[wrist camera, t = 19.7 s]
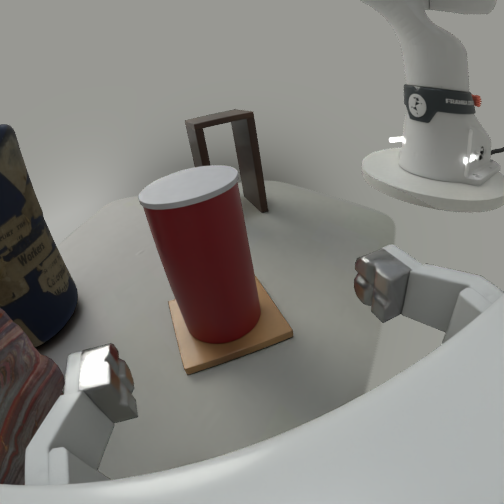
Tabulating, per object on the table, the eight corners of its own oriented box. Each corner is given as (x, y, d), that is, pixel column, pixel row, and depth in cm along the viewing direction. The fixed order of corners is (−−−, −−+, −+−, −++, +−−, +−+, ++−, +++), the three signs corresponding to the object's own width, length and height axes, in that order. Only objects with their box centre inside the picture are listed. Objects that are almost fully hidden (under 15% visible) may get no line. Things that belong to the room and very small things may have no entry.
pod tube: (246, 281, 23) (221, 159, 18) (275, 326, 18) (252, 180, 14) (178, 305, 22) (137, 184, 17) (194, 356, 17) (139, 215, 12)
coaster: (254, 278, 24) (253, 272, 24) (293, 336, 18) (292, 330, 18) (170, 307, 22) (167, 301, 22) (187, 375, 17) (184, 369, 17)
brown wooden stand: (249, 194, 39) (235, 109, 33) (268, 211, 34) (253, 111, 28) (204, 207, 38) (184, 120, 32) (216, 226, 33) (193, 124, 27)
